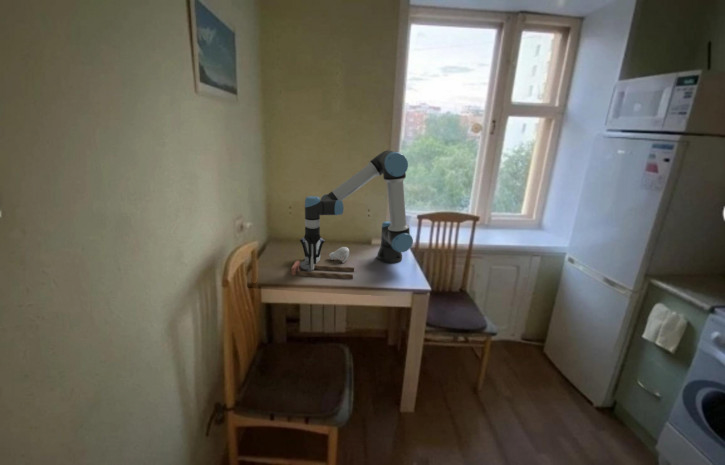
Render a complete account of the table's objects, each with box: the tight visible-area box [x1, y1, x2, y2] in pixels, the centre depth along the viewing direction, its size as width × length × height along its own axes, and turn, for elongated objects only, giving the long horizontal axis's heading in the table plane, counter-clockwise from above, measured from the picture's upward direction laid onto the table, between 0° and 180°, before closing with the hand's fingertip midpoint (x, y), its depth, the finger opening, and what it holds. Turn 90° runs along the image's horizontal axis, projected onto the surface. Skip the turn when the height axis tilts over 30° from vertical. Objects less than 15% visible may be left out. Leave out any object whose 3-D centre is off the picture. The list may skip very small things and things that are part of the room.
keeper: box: [299, 260, 312, 272], centre depth 181 cm, size 6×6×5 cm
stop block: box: [291, 260, 301, 276], centre depth 181 cm, size 2×10×4 cm, turn 177°
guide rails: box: [294, 264, 355, 280], centre depth 181 cm, size 30×10×2 cm, turn 87°
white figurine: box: [328, 246, 350, 264], centre depth 198 cm, size 6×8×12 cm
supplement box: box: [304, 240, 321, 264], centre depth 195 cm, size 7×7×13 cm
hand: (312, 268), depth 181 cm, fingers closed
